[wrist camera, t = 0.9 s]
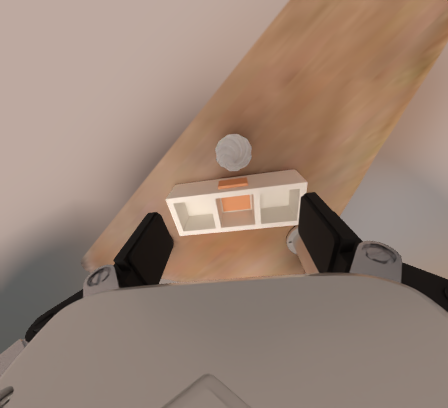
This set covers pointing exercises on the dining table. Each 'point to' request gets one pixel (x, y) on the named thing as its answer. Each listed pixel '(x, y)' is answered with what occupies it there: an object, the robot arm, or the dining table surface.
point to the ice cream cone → (233, 152)
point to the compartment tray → (237, 203)
